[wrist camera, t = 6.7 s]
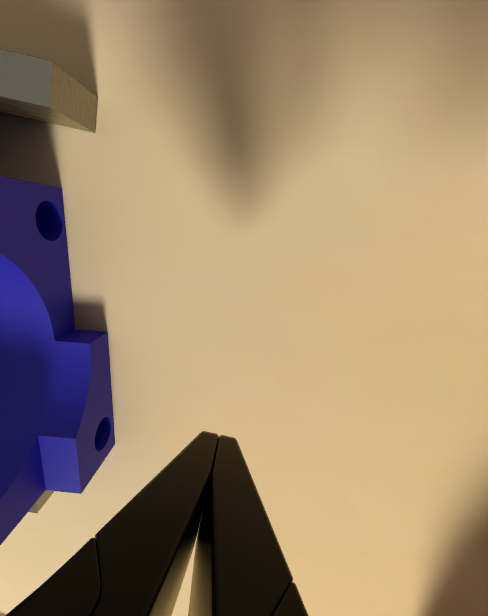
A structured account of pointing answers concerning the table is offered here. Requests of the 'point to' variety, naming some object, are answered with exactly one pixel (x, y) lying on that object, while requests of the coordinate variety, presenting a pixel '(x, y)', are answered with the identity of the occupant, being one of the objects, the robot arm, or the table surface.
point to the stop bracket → (44, 108)
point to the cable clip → (45, 360)
